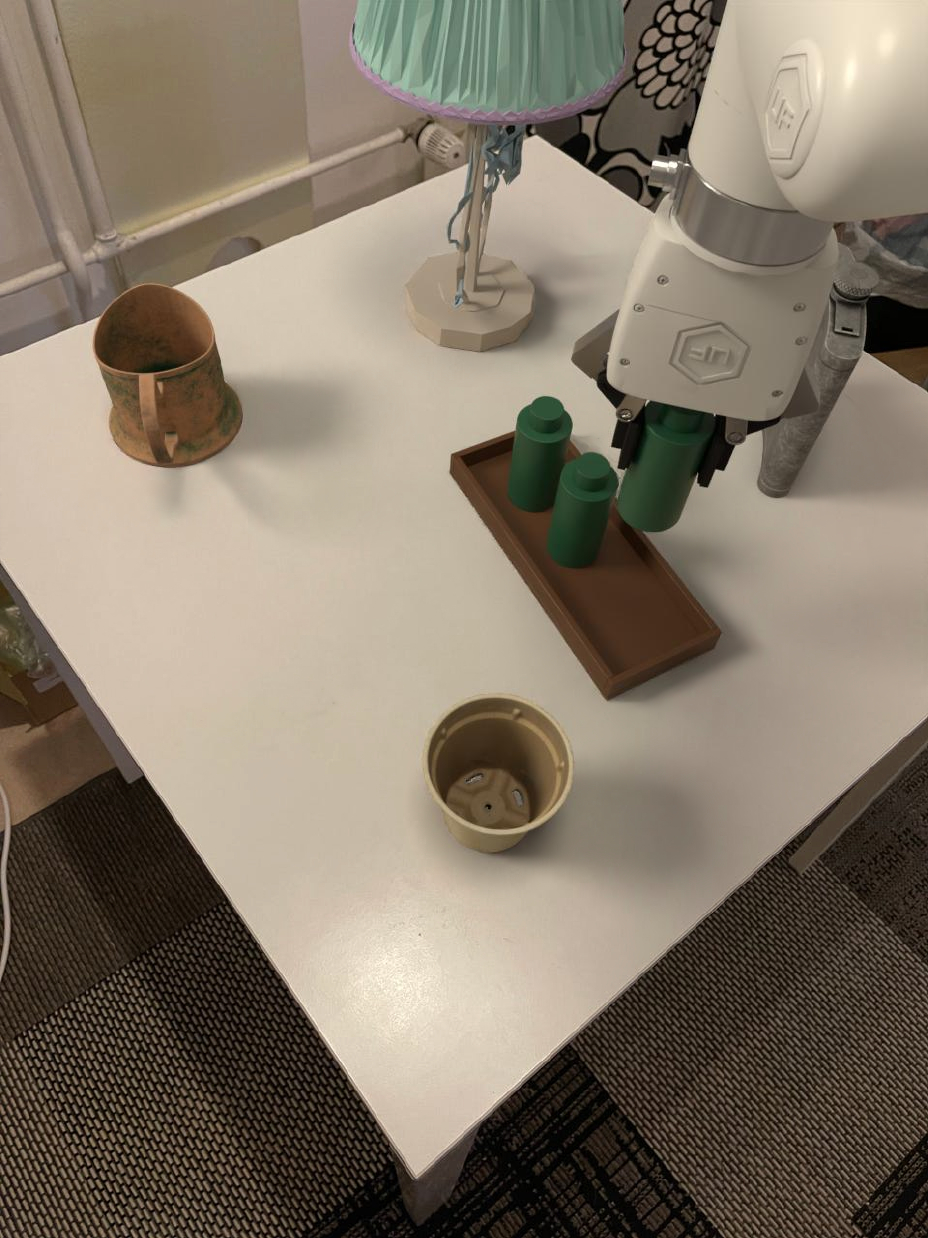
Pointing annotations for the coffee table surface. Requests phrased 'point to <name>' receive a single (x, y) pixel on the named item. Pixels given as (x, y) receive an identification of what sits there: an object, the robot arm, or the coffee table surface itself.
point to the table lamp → (486, 125)
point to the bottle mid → (581, 510)
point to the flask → (821, 373)
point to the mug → (164, 378)
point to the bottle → (664, 465)
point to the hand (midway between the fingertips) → (665, 460)
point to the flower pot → (497, 769)
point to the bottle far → (539, 454)
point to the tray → (592, 581)
